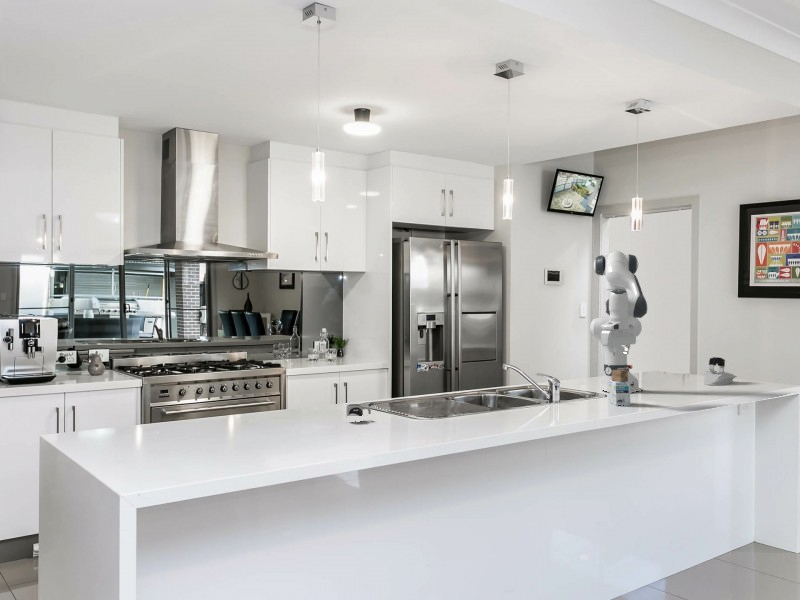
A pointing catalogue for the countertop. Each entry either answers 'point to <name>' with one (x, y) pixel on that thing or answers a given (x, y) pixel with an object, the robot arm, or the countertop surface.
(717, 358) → the iron
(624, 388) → the light bulb box
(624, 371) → the walnut cube
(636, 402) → the countertop surface
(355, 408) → the mug
